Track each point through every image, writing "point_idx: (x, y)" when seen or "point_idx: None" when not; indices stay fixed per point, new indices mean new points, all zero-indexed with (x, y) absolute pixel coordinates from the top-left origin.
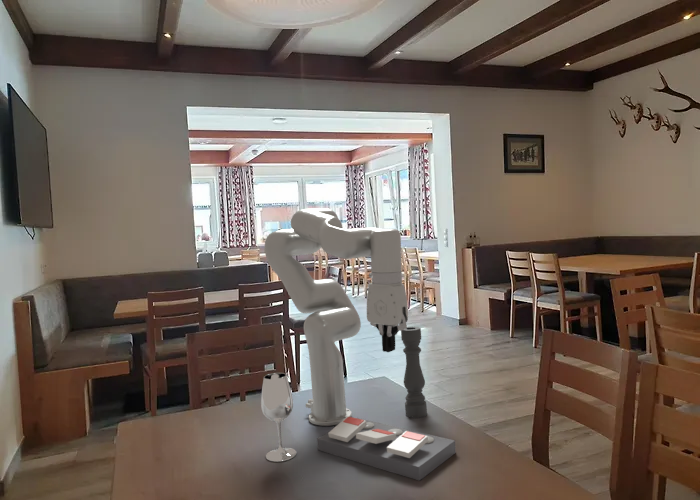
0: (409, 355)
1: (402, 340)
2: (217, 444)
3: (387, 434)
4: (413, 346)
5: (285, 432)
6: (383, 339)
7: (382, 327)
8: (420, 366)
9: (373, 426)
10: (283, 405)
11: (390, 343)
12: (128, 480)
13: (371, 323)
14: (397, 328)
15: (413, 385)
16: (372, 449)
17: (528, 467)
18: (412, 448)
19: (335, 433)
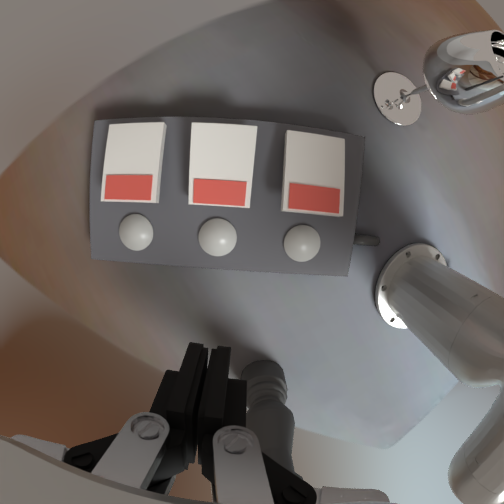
0: None
1: None
2: (492, 114)
3: (196, 178)
4: None
5: (448, 190)
6: (211, 398)
7: (216, 485)
8: None
9: (284, 246)
10: (435, 49)
11: (167, 388)
12: (478, 9)
13: (374, 500)
14: (67, 462)
15: (258, 408)
16: None
17: (13, 254)
18: (109, 142)
19: (325, 139)
